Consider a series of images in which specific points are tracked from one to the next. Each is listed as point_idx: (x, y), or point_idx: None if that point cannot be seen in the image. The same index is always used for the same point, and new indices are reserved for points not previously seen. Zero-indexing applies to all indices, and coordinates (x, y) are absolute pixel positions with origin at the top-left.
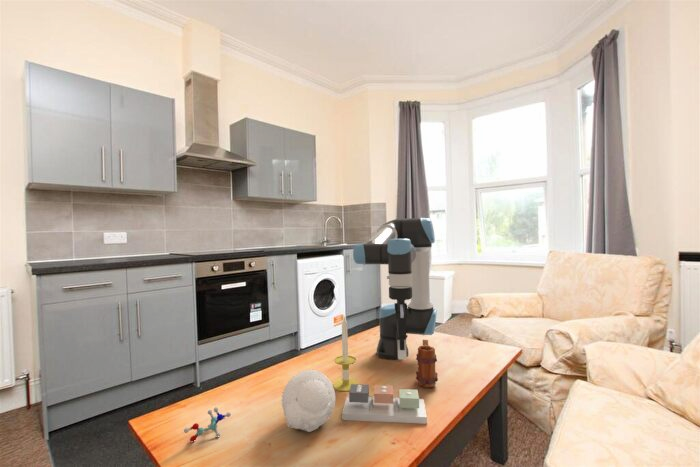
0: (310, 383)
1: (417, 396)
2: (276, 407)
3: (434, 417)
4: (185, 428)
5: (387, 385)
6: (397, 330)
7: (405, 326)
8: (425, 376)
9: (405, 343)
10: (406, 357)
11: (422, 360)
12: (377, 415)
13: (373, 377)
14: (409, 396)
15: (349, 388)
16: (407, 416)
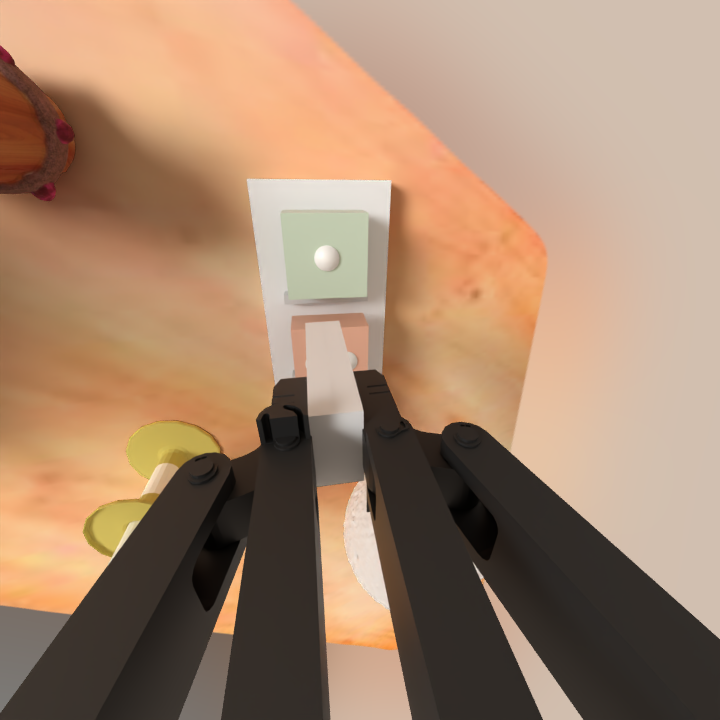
0: (481, 576)
1: (348, 219)
2: (334, 545)
3: (340, 140)
4: None
5: (294, 351)
6: (241, 555)
7: (684, 620)
8: (35, 138)
9: (355, 390)
10: (340, 326)
11: None
12: (382, 349)
13: (64, 385)
14: (352, 256)
15: (201, 442)
16: (387, 256)
